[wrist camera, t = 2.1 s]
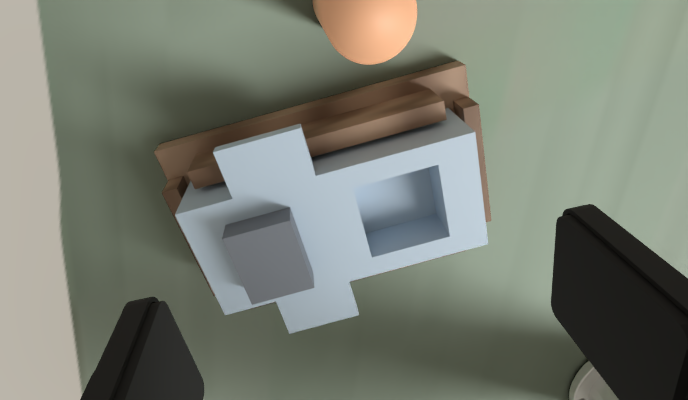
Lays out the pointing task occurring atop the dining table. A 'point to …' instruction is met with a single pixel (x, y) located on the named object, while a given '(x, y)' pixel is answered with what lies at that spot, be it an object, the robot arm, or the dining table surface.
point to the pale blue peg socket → (331, 216)
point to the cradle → (332, 127)
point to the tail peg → (367, 27)
